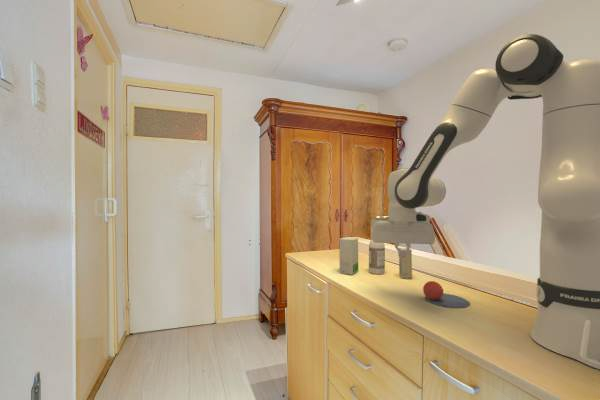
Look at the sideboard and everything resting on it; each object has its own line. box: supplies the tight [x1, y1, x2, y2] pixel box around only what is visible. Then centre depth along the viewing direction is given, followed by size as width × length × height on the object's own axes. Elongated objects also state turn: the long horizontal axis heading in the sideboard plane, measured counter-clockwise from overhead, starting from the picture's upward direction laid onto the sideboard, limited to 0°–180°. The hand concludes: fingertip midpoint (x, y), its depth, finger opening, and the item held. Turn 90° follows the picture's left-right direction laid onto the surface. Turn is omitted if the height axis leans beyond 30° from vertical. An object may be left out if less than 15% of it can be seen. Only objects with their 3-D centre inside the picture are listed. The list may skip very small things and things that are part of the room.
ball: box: [422, 280, 444, 300], centre depth 91 cm, size 6×6×6 cm
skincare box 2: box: [398, 247, 413, 280], centre depth 118 cm, size 6×4×12 cm
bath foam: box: [368, 238, 386, 275], centre depth 125 cm, size 7×7×20 cm
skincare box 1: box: [338, 236, 359, 276], centre depth 125 cm, size 8×7×16 cm
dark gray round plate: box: [424, 292, 471, 309], centre depth 91 cm, size 13×13×1 cm
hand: (402, 256), depth 95 cm, fingers closed
